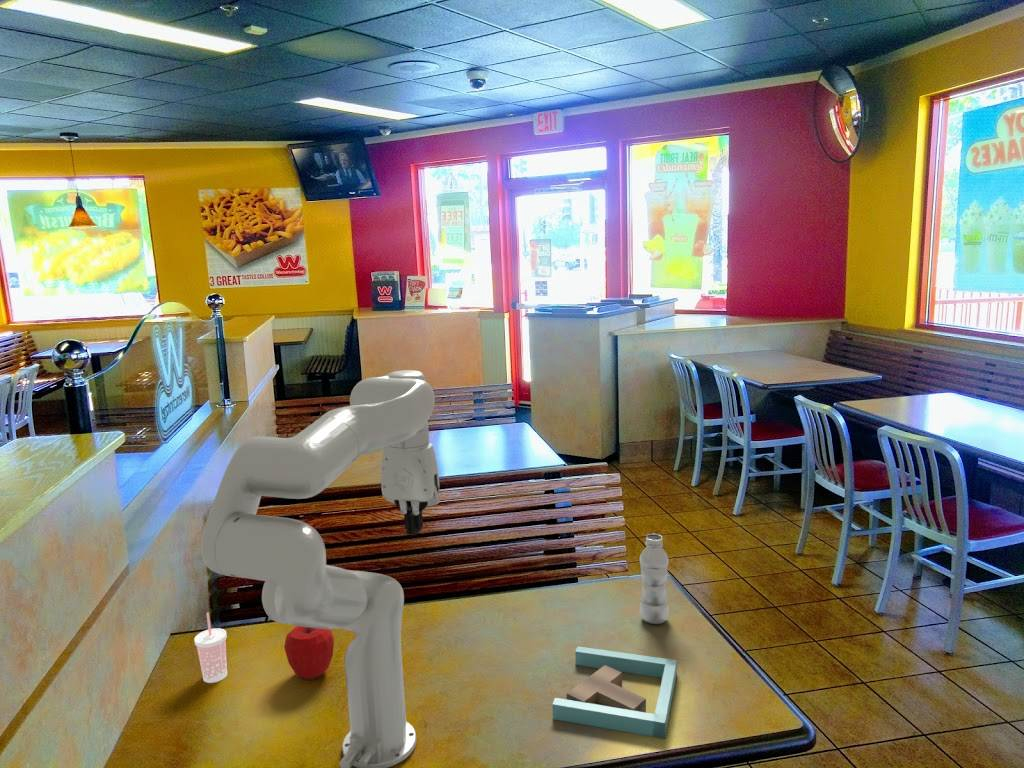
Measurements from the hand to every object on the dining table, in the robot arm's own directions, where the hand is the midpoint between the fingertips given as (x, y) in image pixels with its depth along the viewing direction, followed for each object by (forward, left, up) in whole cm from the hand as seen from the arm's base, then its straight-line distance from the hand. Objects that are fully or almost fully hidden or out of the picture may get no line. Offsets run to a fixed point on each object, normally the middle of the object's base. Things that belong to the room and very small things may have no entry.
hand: (414, 532), depth 138 cm
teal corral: (+7, -36, -32) cm, 49 cm away
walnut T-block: (+4, -37, -32) cm, 49 cm away
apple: (-2, +24, -32) cm, 40 cm away
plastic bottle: (+37, -40, -32) cm, 63 cm away
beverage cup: (-8, +43, -32) cm, 54 cm away
